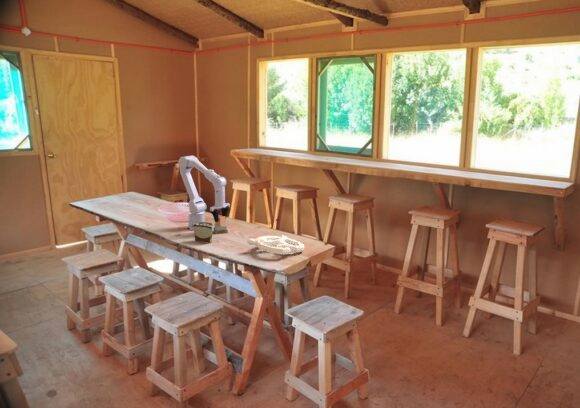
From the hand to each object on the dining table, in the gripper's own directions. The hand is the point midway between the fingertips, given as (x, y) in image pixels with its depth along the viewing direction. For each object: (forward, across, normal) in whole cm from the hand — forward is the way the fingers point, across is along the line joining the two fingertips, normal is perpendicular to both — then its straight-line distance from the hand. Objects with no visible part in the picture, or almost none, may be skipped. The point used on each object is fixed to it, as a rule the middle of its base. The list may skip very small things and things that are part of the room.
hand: (220, 220), depth 259 cm
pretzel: (+7, -5, -47) cm, 47 cm away
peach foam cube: (+3, 0, 0) cm, 3 cm away
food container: (+7, -18, -6) cm, 20 cm away
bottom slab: (+8, 0, 0) cm, 8 cm away
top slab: (+5, 0, 0) cm, 5 cm away
